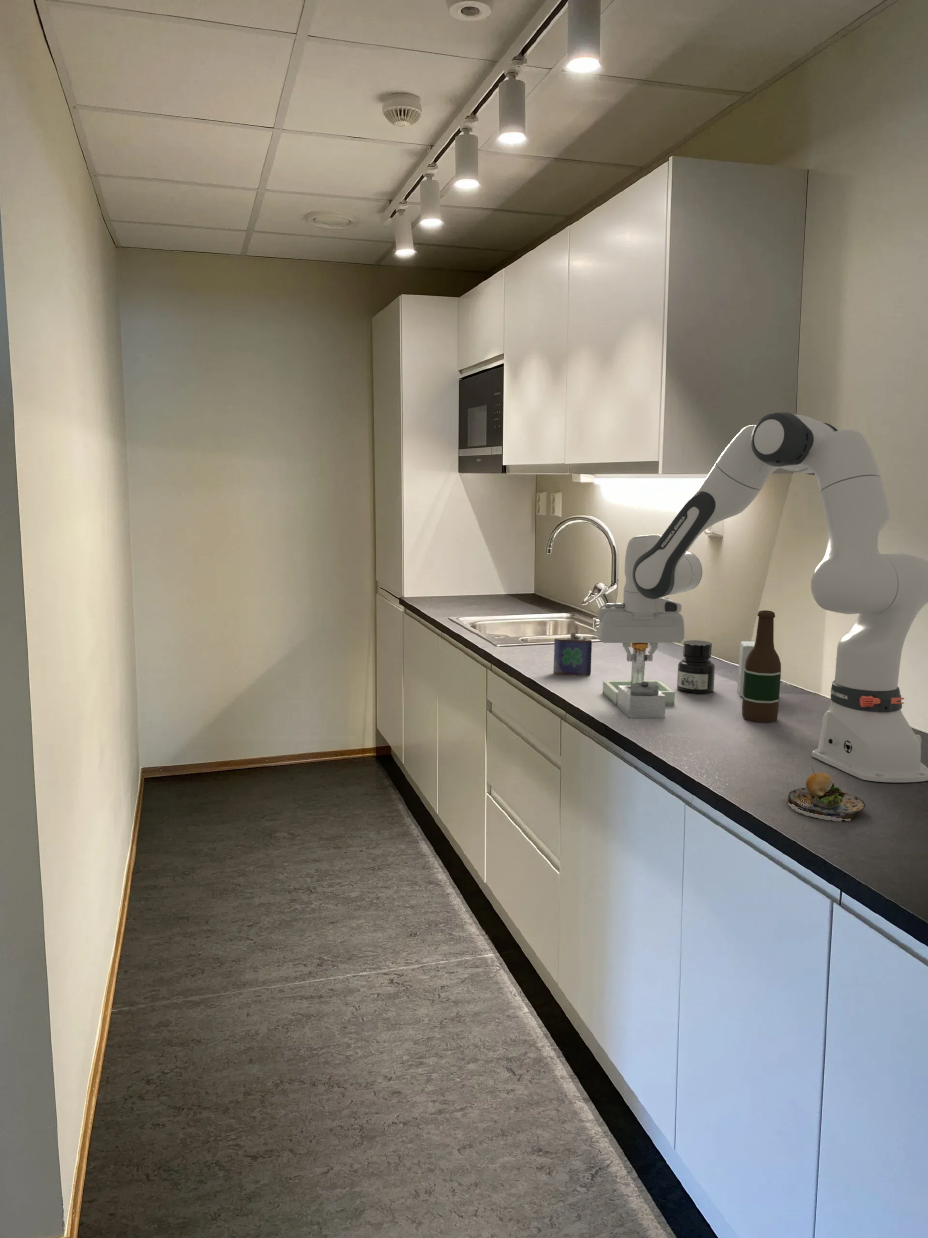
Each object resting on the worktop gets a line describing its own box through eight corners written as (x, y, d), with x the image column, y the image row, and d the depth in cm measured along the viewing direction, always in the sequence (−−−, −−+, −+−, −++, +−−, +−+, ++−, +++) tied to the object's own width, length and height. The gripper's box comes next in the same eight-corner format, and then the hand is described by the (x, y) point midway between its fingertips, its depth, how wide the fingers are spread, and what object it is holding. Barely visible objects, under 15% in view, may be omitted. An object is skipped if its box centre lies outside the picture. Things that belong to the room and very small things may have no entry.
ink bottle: (668, 689, 232) (670, 642, 230) (687, 684, 238) (690, 637, 236) (703, 696, 225) (705, 647, 223) (721, 690, 231) (724, 643, 229)
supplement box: (771, 699, 224) (774, 647, 222) (739, 697, 225) (742, 645, 223) (767, 691, 231) (771, 641, 229) (736, 690, 232) (739, 640, 230)
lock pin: (646, 693, 221) (649, 644, 219) (631, 694, 221) (634, 644, 218) (642, 689, 225) (645, 640, 222) (626, 689, 225) (629, 640, 222)
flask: (552, 674, 247) (554, 631, 245) (553, 672, 250) (555, 629, 248) (590, 676, 245) (592, 633, 243) (591, 674, 248) (592, 631, 246)
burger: (865, 827, 144) (869, 781, 143) (785, 816, 148) (788, 771, 147) (863, 803, 155) (867, 759, 154) (788, 793, 159) (791, 750, 158)
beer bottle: (753, 724, 201) (761, 614, 197) (734, 715, 208) (740, 609, 204) (785, 722, 203) (793, 613, 199) (764, 713, 210) (771, 608, 206)
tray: (674, 704, 217) (674, 692, 216) (615, 705, 215) (616, 692, 215) (658, 692, 229) (659, 680, 228) (602, 692, 227) (603, 680, 227)
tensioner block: (665, 718, 205) (666, 685, 204) (629, 718, 204) (630, 685, 203) (651, 706, 215) (652, 675, 214) (617, 706, 214) (618, 675, 213)
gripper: (602, 605, 214) (599, 664, 216) (688, 605, 216) (685, 663, 218) (595, 601, 220) (593, 658, 223) (679, 601, 222) (676, 658, 225)
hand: (639, 661), depth 221 cm, fingers closed on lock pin, 3 cm apart
